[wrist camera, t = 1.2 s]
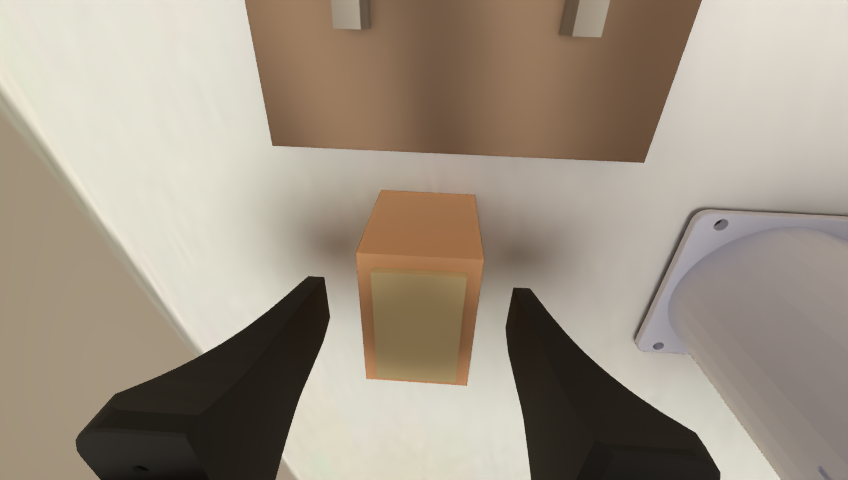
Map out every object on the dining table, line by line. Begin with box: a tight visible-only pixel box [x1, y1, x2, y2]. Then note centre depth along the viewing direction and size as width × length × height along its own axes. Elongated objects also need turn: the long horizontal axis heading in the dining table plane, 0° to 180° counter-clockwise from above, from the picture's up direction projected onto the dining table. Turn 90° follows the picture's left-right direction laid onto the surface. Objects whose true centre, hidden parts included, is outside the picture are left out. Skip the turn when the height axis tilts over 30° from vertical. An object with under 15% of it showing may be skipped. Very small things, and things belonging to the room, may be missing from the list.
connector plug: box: [356, 190, 484, 386], centre depth 15 cm, size 4×6×5 cm, turn 178°
